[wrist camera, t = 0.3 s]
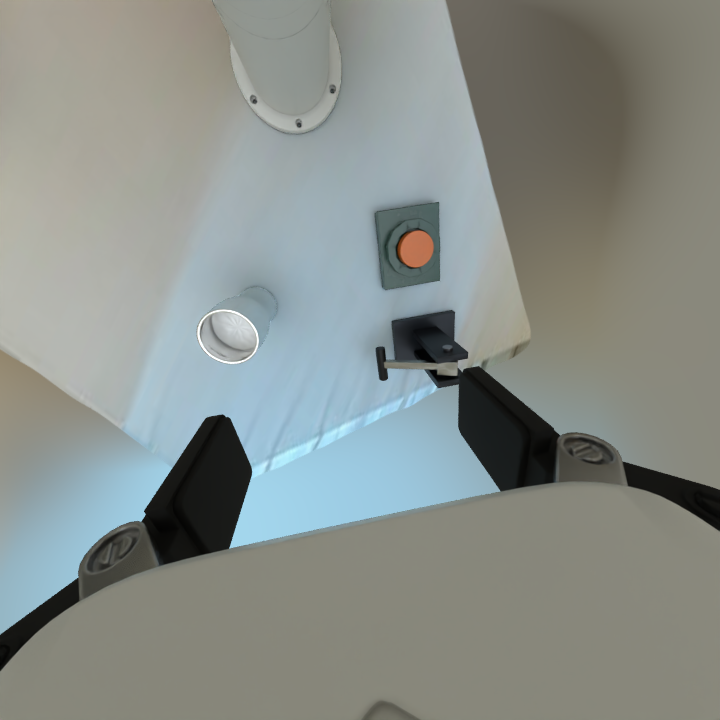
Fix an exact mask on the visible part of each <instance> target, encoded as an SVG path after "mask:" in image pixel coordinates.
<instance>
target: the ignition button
mask: <svg viewBox="0 0 720 720" xmlns="http://www.w3.org/2000/svg"><path fill="white" fill-rule="evenodd" d="M433 249H434V245H433V241H432V239H431V237H430V236H429V234H427V233H426V232H424V231H410V232H408V233H406V234H405V235H404V236H403V237H402V238H401V239H400V241H399V244H398V249H397V252H398V256H399V259H400V260H401V262H403V263H404V264H405V265H407V266H410V267H415V268H416V267H421V266H423V265H425V264H426V263H427V262H428V261H429V260H430V258H431V256H432V254H433Z"/></svg>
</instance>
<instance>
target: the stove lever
mask: <svg viewBox="0 0 720 720" xmlns="http://www.w3.org/2000/svg"><path fill="white" fill-rule="evenodd" d="M376 357H377V365H378V373H379V379H380V380H382V381H385V380H387V379H388V373H387V368H395V369H432V370H437V375H445V376H457V375H458V360H457V361H451V362H446V363H441V364H437V363H436V362H435V360H386V355H385V348H384V347H377V348H376Z"/></svg>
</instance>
